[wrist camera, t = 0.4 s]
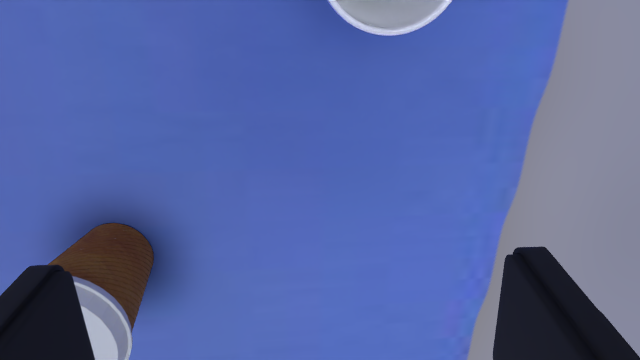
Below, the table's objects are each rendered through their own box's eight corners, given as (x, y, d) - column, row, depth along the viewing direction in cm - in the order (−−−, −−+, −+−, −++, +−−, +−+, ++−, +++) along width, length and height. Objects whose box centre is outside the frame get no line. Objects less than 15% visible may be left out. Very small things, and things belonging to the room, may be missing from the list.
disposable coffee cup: (160, 202, 42) (106, 284, 31) (180, 294, 46) (138, 396, 35) (50, 209, 43) (-42, 294, 31) (79, 301, 46) (6, 405, 35)
